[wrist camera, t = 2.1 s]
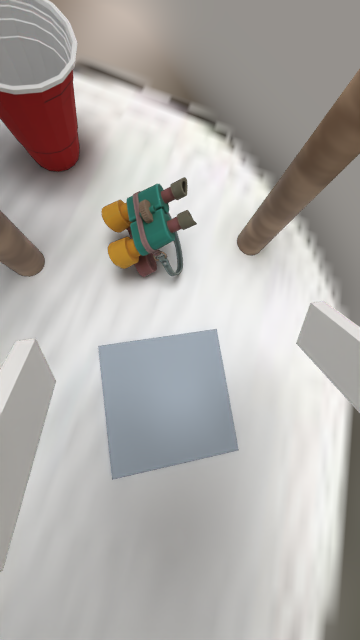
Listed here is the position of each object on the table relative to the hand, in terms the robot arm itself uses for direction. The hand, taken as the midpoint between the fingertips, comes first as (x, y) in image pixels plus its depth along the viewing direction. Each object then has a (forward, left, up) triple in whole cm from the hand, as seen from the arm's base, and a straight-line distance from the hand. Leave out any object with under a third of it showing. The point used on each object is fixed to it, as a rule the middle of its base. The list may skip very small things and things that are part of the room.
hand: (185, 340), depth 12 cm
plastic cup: (-29, 0, -17) cm, 34 cm away
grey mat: (+5, -2, -17) cm, 18 cm away
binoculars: (-12, +4, -17) cm, 22 cm away
